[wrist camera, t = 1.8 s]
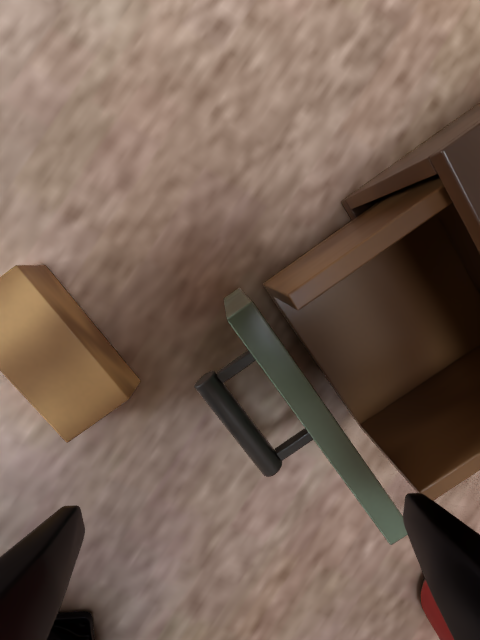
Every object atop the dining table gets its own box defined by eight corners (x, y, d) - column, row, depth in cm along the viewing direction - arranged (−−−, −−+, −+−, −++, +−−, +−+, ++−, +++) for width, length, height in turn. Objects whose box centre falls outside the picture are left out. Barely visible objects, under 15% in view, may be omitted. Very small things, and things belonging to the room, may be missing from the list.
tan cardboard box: (141, 381, 20) (129, 399, 18) (86, 419, 21) (66, 443, 18) (45, 264, 19) (15, 264, 16) (-13, 307, 19) (-52, 315, 16)
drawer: (283, 486, 21) (315, 595, 14) (167, 338, 19) (138, 381, 12) (504, 337, 21) (653, 376, 14) (411, 164, 18) (532, 103, 11)
